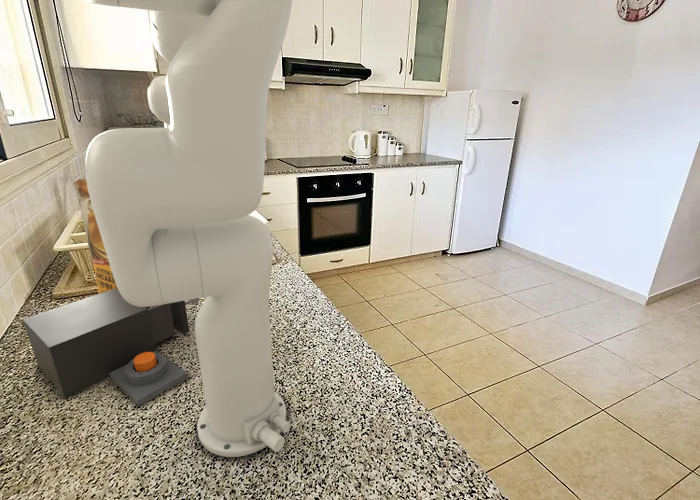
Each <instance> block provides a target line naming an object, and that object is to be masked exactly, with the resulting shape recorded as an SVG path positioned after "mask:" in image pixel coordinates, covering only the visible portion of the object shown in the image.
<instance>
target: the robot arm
mask: <svg viewBox="0 0 700 500" xmlns="http://www.w3.org/2000/svg"><path fill="white" fill-rule="evenodd" d="M84 2H88V3H91V4H95V5H101V6H109V7H116V8H117V7H118V8H128V9H137V10H145V11H148V21H149V30H150V37H151V38H150V39H151V41H152V45H153V46H154V49H155V50H157V52H158V54H159V55H160V56H161V57H162V58H163V60H165V62H167V63H168V64H169V66H168V69H167V71H166V74H165V75H159V76H156V77H155V78H153V79H152V81H151V82H150V85H149V86H147V89H146V90H147V93H146V95H147V103H148V107H149V109H150V111H151V113H152V114H154V116H155V117H156V119H158V120H159V121H160V122H162V123H163V124H164V125H163V126H164V127H127V128H125V127H124V128H116V129H115V128H114V129H109V130H106V131H103V132H101V133H99V134H97V135H96V136H94V138H93V139H92V140H91V141H90V143H89V144H88V147H87V150H86V155H85V162H84V166H85V167H84V168H85V180H86V181H87V187H88V192H89V196H90V200H91V204H92V208H93V211H94V215H95V218H96V221H97V224H98V228H99V231H100V234H101V238H102V241H103V244H104V248H105V251H106V254H107V257H108V261H109V264H110V268H111V271H112V274H113V277H114V280H115V283H116V286H117V288H118V290H119V292H120V294H121V295H122V297H123V298H124V299H125V300H126V301H127V302H128V303H130V304H131V305H134V306H138V307H150V308H151V307H153V306H158V305H164V304H169V303H174V302H179V301H187V300H190V299H195V298H199V299H201V298H203V299H204V297H206V299H204V300H203V302H202V304H201V305H200V307H199V310H198V312H197V314H196V316H195V317H196V318H195V322H194V337H195V343H196V349H197V356H198V363H199V370H200V375H201V384H202V389H203V396H204V403H205V407H204V408H203V410H202V411H201V413H200V415H199V417H198V420H197V424H196V428H197V435H198V440H199V441H200V443H201V445H202V446H203V447H204V448H205V449H206V450H207V451H209V452H210V453H211V454H214V455H217V456H219V457H225V458H226V457H227V458H239V457H244V456H245V457H246V456H249V455H253V454H255V453H257V452H259V451H261V450H263V449H264V448H266V447H268V448H269V449H271V450H272V451H274V452H275V453H278V452H279V451H281V450H282V449H283V447H284V445H285V443H286V438H285V437H284V436H283V435H281V433H284V434H286V433H288V432H289V431H290V429H291V426H292V424H291V423H290V422H289V421H287V406H286V404H285V403H286V402H285V400H284V399H283V398H282V397H281V395H280V394H279V393H277V392H276V391H275V380H274V377H275V376H274V365H273V350H272V349H273V347H272V332H271V331H272V330H271V318H270V317H271V315H270V314H271V313H270V288H271V287H270V286H271V285H270V284H271V277H272V276H271V275H272V268H273V261H274V260H273V259H274V244H273V239H272V238H273V237H272V234H271V232H270V229H269V228H268V226H267V225H266V224H265V223H264V221H262V220H261V219H259V218H258V217H256V216H254V215H250V214H253V213H254V211H256V210H257V208H258V207H259V206H260V204H261V201H262V196H263V191H264V181H265V163H266V142H267V141H266V139H267V120H268V119H267V117H268V99H269V90H270V86H271V82H272V78H273V74H274V71H275V67H276V64H277V62H278V59H279V55H280V53H281V50H282V48H283V45H284V41H285V38H286V34H287V30H288V26H289V21H290V17H291V12H292V4H293V0H84Z"/></svg>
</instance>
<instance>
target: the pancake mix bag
mask: <svg viewBox="0 0 700 500" xmlns="http://www.w3.org/2000/svg"><path fill="white" fill-rule="evenodd" d="M72 183H73V185H74V187H75V190H76V191H75V192H76V194H77V200H78V204H79V207H80V212H81V217H82V224H83V227H84V231H85V233H84V234H85V239H86V243H87V246H88V249H89V252H90V256H91V259H92V263H93V269H94V276H95V281H96V288H97V292H98V294H100V293H103V292H106V291H109V290H112V289H115V288H116V289H117V290H118V288H117V286H116V283H115V280H114V277H113V274H112V271H111V268H110V264H109V261H108V257H107V254H106V251H105V248H104V244H103V241H102V238H101V234H100V231H99V228H98V224H97V221H96V218H95V215H94V211H93V208H92V204H91V200H90V196H89V192H88V187H87V181H86V178H85V179H83V178H82V179H81V178H79V179H76V180H75V181H73V182H72Z"/></svg>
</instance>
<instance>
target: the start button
mask: <svg viewBox="0 0 700 500" xmlns="http://www.w3.org/2000/svg"><path fill="white" fill-rule="evenodd" d="M134 365H135V370H136V371H137V372H144V371H149V370H151V369H152V368H154V367H155V366H156V365H157V361H156V357H155V354H154V353H153V352H144V353H141V354H139V355H137V356H136V357H135V358H134Z"/></svg>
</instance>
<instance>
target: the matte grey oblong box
mask: <svg viewBox="0 0 700 500" xmlns="http://www.w3.org/2000/svg"><path fill="white" fill-rule="evenodd" d="M21 321H22V323H23V325H24V328H25V331H26V332H25V333H26V335H27V337H28V340H29V343H30V346H31V349H32V352H33V354H34V357H35V360H36V363H37V366H38V367H39V369H40V370H41V371H42V372H43V374H44V375H45V376H46V377H47V378H48V379H49V381H50V382H51V383H52V384H53V386H54V387H55V388H56V389H57V390H58V392H59V393H60V394H61V396H63V398H64V399H67V398H69V397H71V396H73V395H75V394H77V393H79V392H81V391H83V390H85V389H87V388H88V387H91V386H93V385H96V384H98V383H100V382H101V381H103V380H106V379H107V378H110V375H109V373H111V372H113V371H115V370H117V369H119V368H121V367H123V366H125V365H127V364H128V363H129V362H130V361H131V360H133V359H134V358H135V357H136V356H137V355H139V354H141V353H144V352H154V351H157V350H156V349H157V348H156V344H154V339H153V334H152V329H151V324H150V319H149V314H148V309H147V308H145V307H138V306H134V305H131V304H130V303H128V302H127V301H126V300H125V299H124V298H123V297H122V295H121V294H120V292H119V290H117V289H116V288H115V289H112V290H109V291H106V292H103V293H100V294H99V293H98V294H95V295H92V296H91V295H90V296H89V297H86V298H82V299H79V300H76V301H73V302H70V303H67V304H63V305H61V306H58V307H55V308H53V309H49V310H46V311H42V312H40V313H37V314H34V315H31V316H27V317H25V318H22V320H21Z"/></svg>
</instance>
